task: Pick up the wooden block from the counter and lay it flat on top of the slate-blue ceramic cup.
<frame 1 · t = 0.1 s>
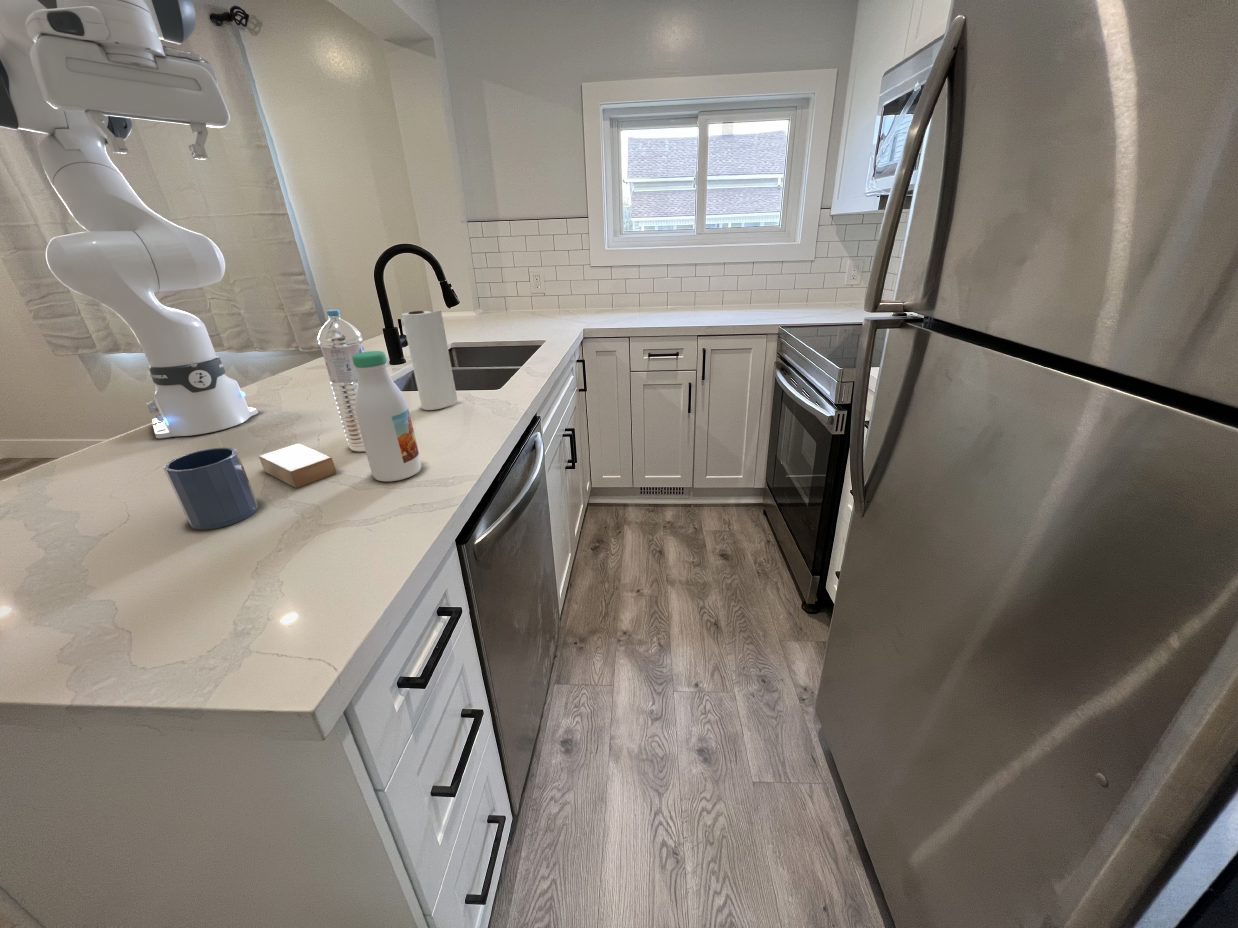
hand: (162, 156, 73), 48 cm above the counter, tool pointing down, fingers open, 8 cm apart
cup: (225, 515, 72), on the counter
water bottle: (369, 446, 95), on the counter
paper towel roll: (437, 407, 116), on the counter
wooden block: (300, 472, 85), on the counter
milk bottle: (398, 473, 83), on the counter
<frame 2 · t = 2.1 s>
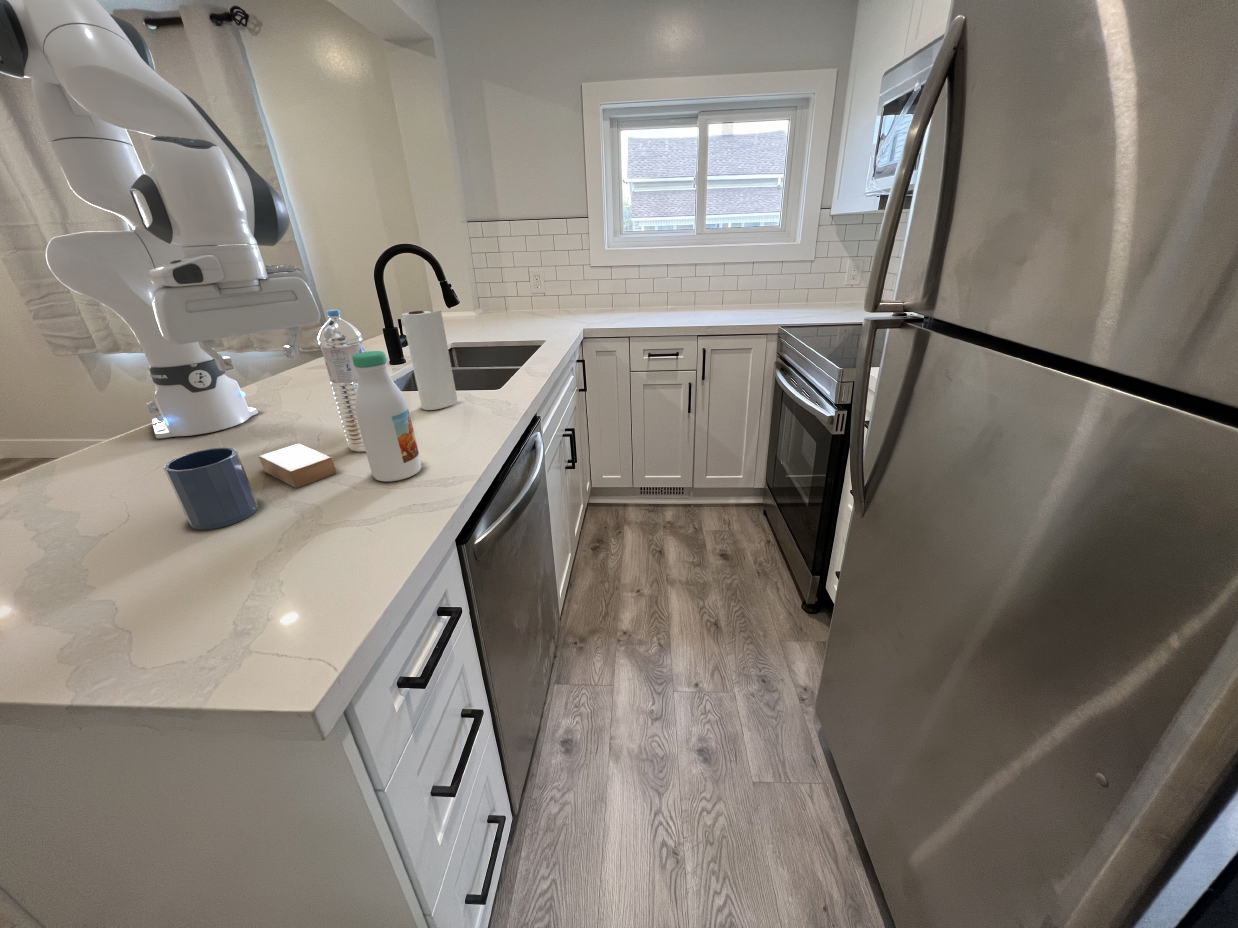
hand: (261, 363, 77), 19 cm above the counter, tool pointing down, fingers open, 8 cm apart
nothing on the counter moved.
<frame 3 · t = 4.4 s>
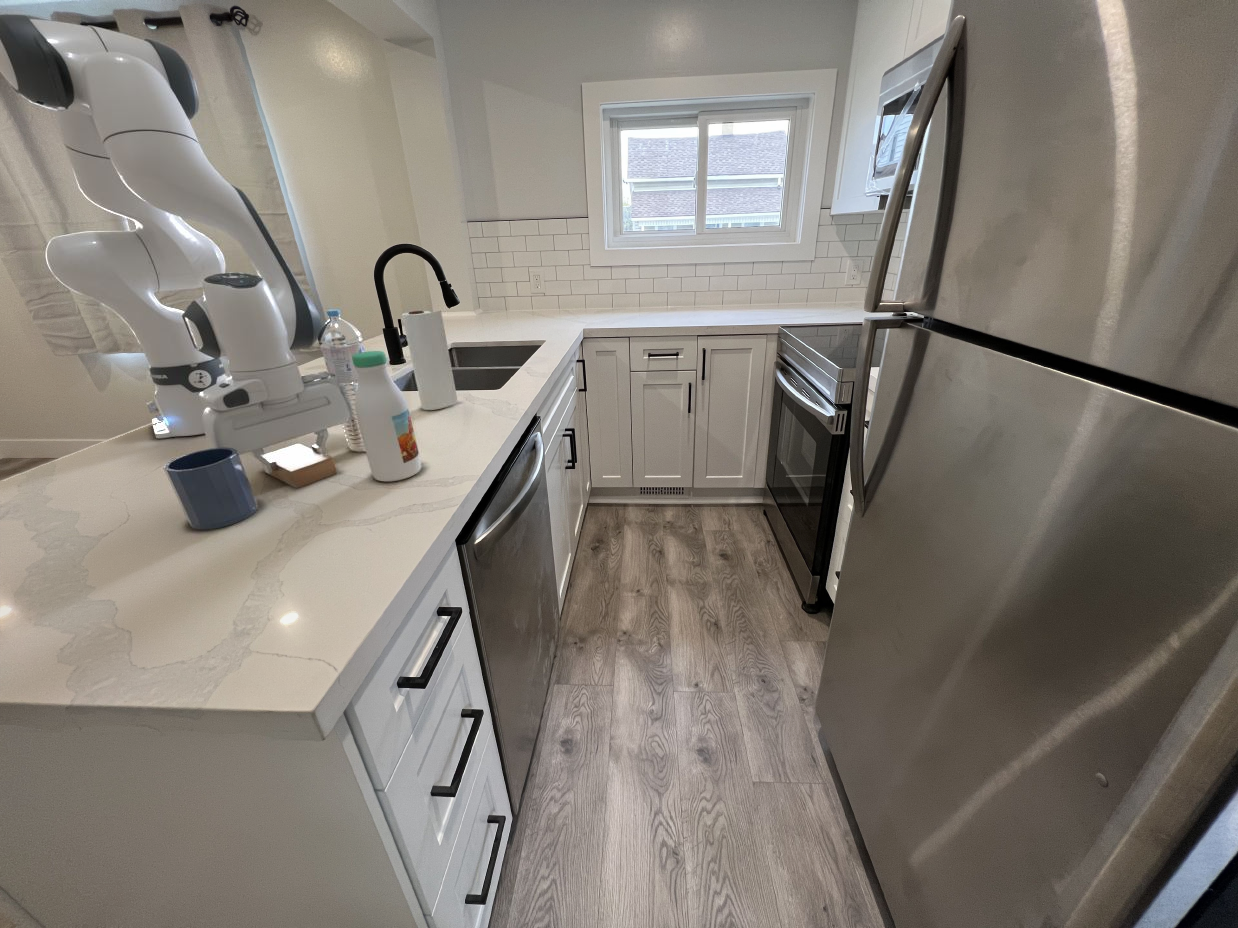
hand: (297, 463, 84), 2 cm above the counter, tool pointing down, fingers closed on wooden block, 6 cm apart
wooden block: (300, 472, 85), on the counter, touching gripper
everything else where it was.
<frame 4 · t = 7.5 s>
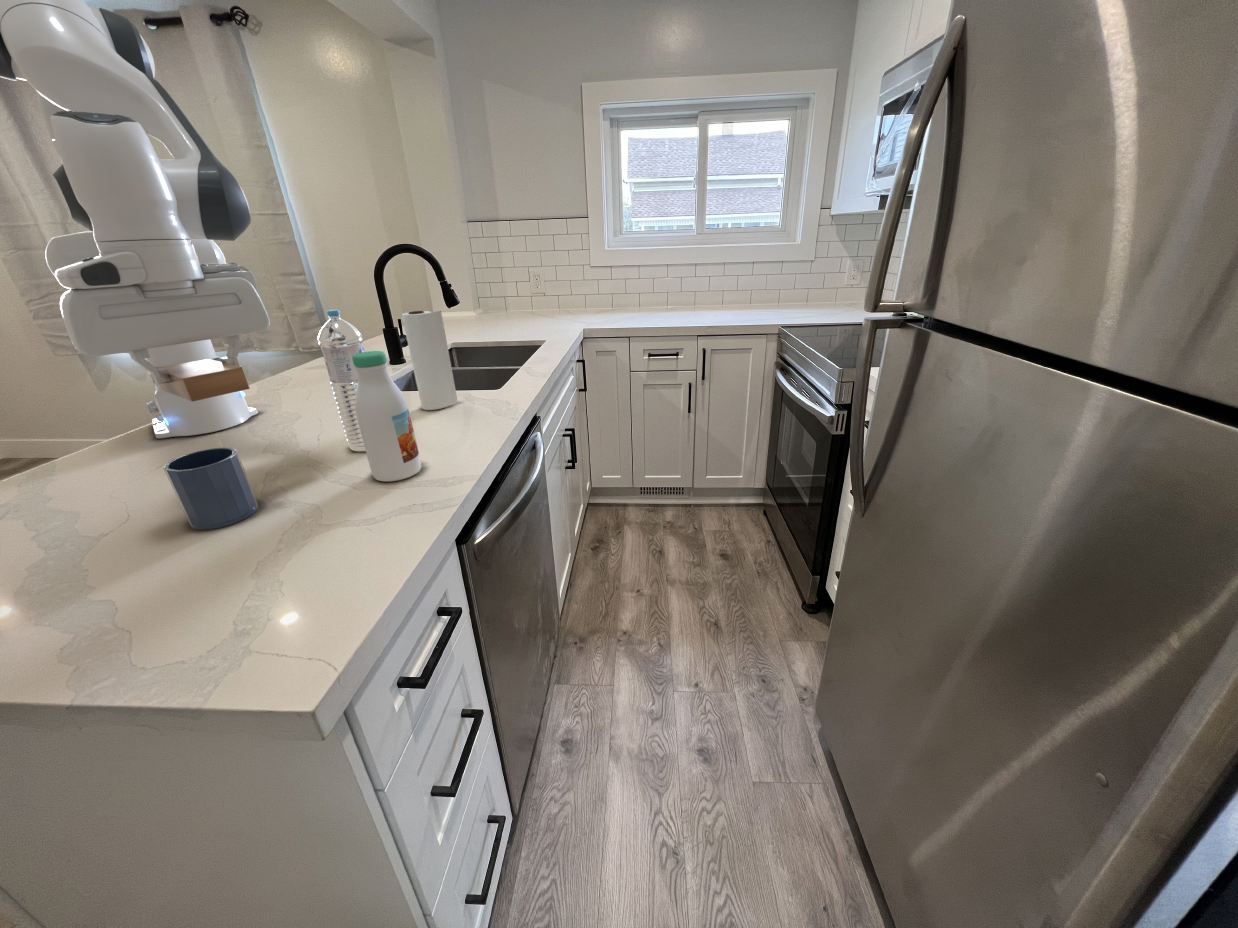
hand: (199, 376, 67), 20 cm above the counter, tool pointing down, fingers closed on wooden block, 6 cm apart
wooden block: (205, 389, 68), point 18 cm above the counter, touching gripper
everything else where it was.
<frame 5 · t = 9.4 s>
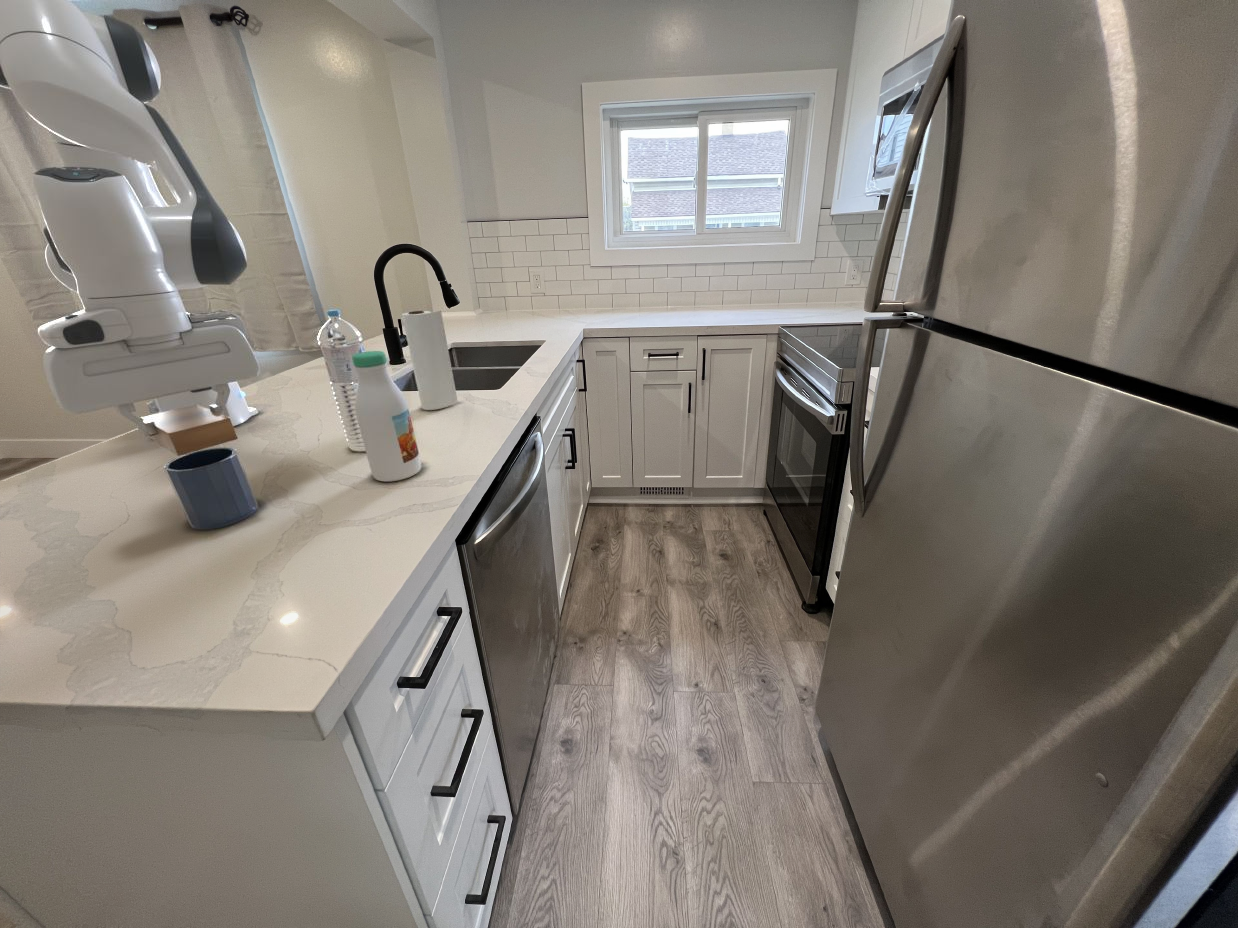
hand: (187, 426, 66), 14 cm above the counter, tool pointing down, fingers closed on wooden block, 6 cm apart
wooden block: (193, 438, 67), point 12 cm above the counter, touching gripper
everything else where it was.
when the fingers open (11 cm above the counter, at t = 10.9 s): wooden block stays where it is, resting on cup.
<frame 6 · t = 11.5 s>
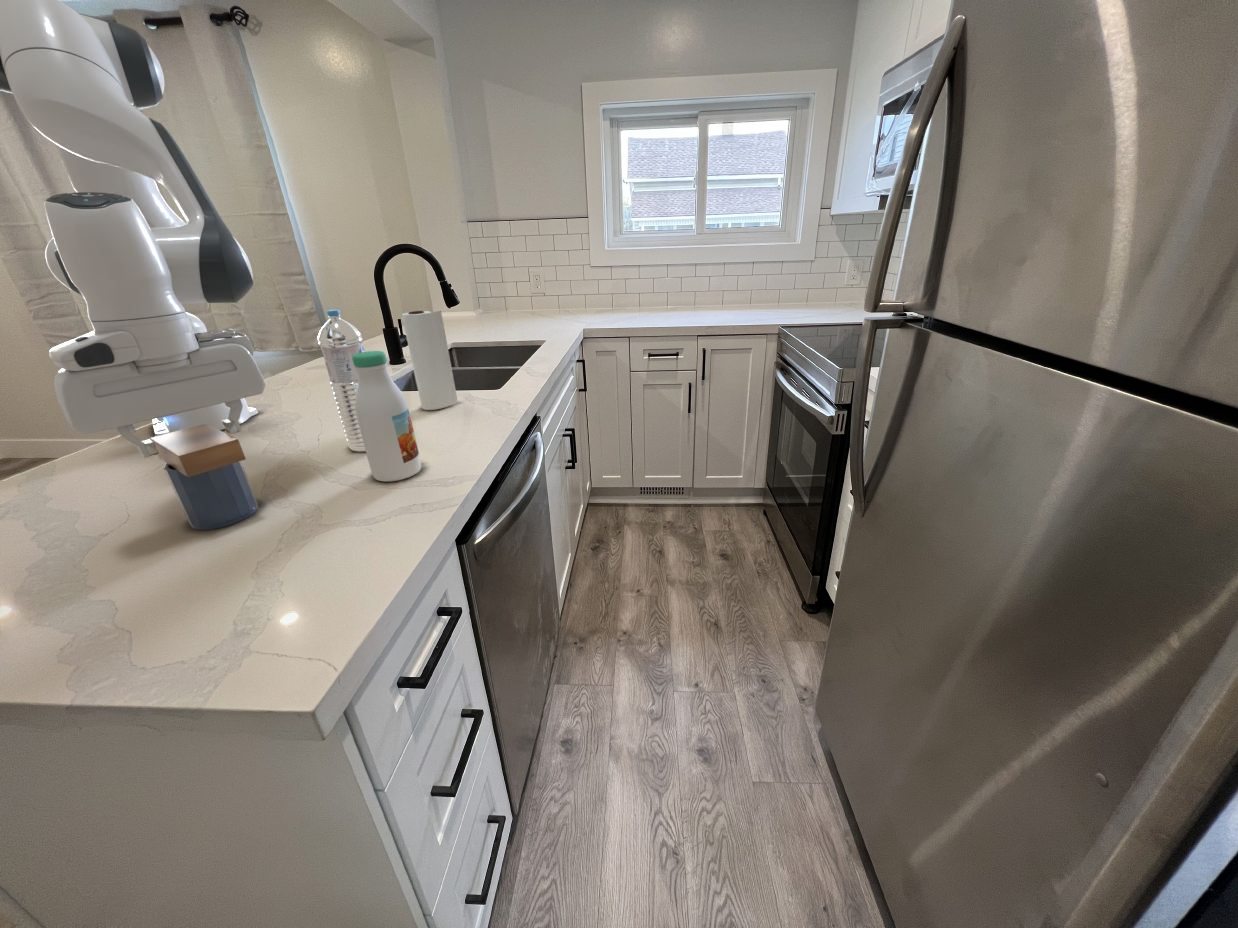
hand: (194, 443, 67), 11 cm above the counter, tool pointing down, fingers open, 8 cm apart
cup: (225, 515, 72), on the counter, touching wooden block
wooden block: (201, 458, 68), point 9 cm above the counter, touching cup
everything else where it was.
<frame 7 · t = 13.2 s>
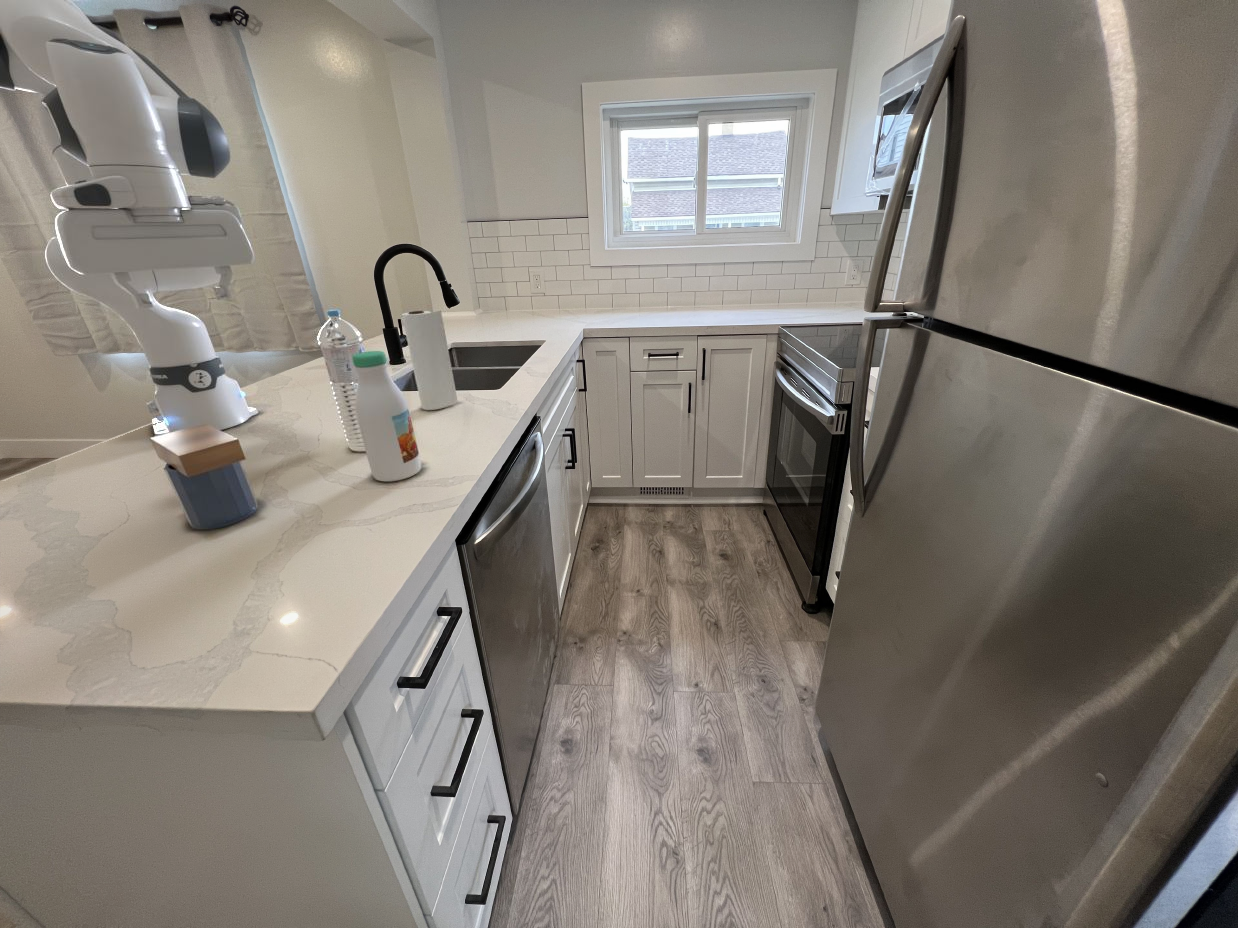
hand: (186, 303, 72), 28 cm above the counter, tool pointing down, fingers open, 8 cm apart
nothing on the counter moved.
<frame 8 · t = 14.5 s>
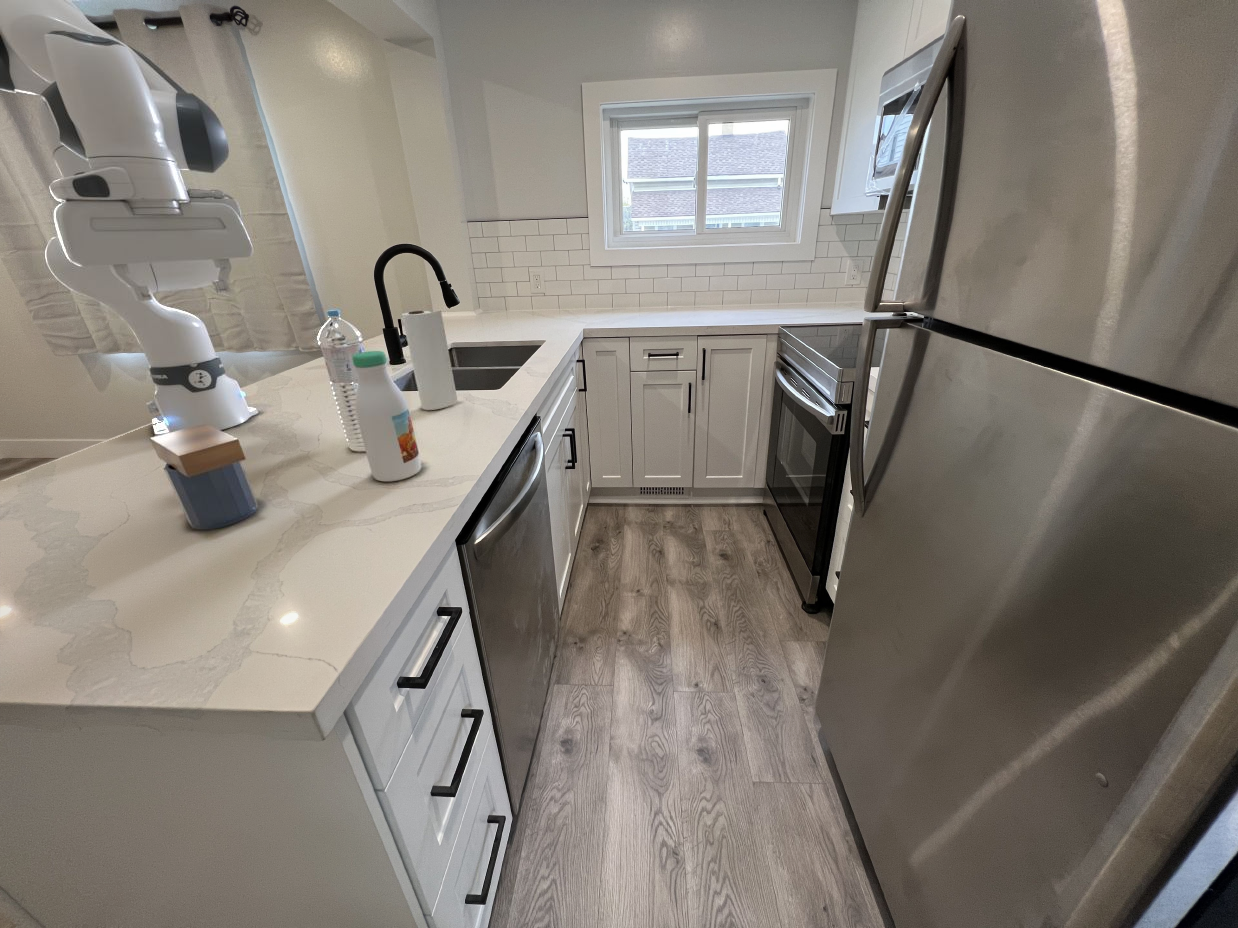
hand: (185, 296, 72), 29 cm above the counter, tool pointing down, fingers open, 8 cm apart
nothing on the counter moved.
at the end: wooden block 0.1 cm off-centre on the cup, point 9.0 cm above the cup's base; wooden block tilted 0°; cup tilted 0° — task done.
